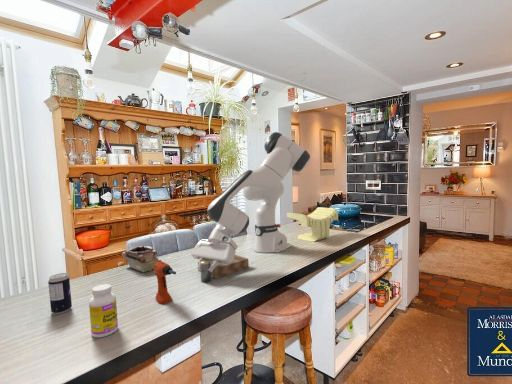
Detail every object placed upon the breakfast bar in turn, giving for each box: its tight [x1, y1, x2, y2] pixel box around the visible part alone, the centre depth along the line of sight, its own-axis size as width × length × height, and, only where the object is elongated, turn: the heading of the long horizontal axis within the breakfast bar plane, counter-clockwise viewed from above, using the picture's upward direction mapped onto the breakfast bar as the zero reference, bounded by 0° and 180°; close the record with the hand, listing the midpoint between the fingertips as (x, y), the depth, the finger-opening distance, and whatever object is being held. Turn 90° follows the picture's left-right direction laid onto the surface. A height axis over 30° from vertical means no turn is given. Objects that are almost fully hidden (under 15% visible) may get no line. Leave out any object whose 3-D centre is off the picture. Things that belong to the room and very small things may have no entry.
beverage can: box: [47, 272, 73, 315], centre depth 92 cm, size 6×6×12 cm
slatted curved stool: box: [286, 206, 339, 242], centre depth 176 cm, size 30×16×18 cm, turn 129°
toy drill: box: [153, 259, 177, 305], centre depth 94 cm, size 5×18×14 cm, turn 38°
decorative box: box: [121, 245, 159, 273], centre depth 133 cm, size 13×20×10 cm, turn 45°
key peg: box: [200, 260, 212, 284], centre depth 113 cm, size 4×4×8 cm
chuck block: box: [197, 254, 250, 279], centre depth 127 cm, size 18×14×4 cm
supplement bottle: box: [88, 283, 119, 338], centre depth 78 cm, size 7×7×13 cm
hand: (204, 270), depth 113 cm, fingers closed on key peg, 4 cm apart
